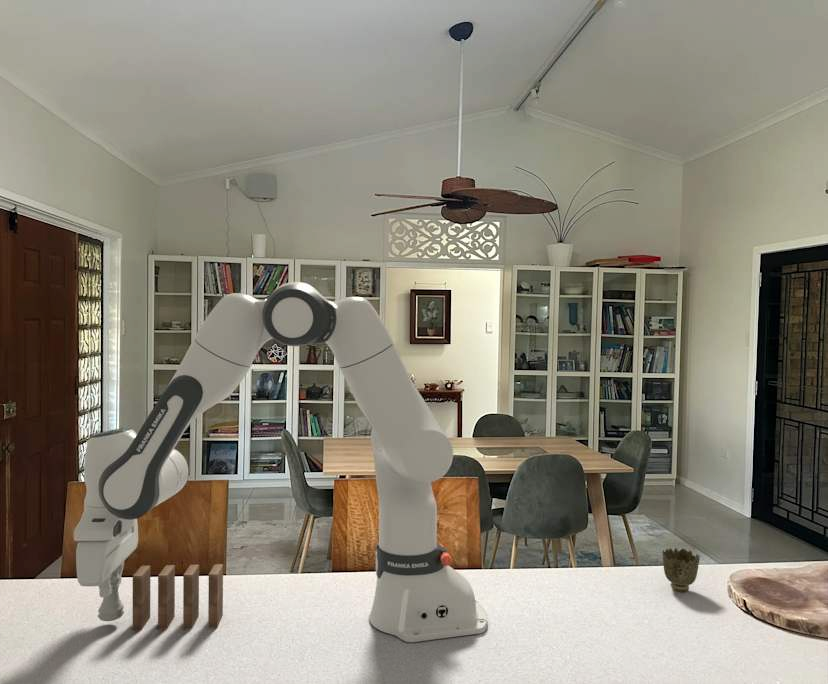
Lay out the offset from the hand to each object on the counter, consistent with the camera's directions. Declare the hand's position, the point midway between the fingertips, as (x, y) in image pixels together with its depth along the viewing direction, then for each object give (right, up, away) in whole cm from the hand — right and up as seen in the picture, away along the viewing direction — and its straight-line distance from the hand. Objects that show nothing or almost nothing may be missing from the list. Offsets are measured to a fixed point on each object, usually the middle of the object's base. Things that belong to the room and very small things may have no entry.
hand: (110, 590), depth 119 cm
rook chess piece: (0, -5, 0) cm, 5 cm away
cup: (+114, -8, +20) cm, 116 cm away
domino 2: (+10, -7, +1) cm, 12 cm away
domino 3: (+14, -7, +2) cm, 16 cm away
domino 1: (+5, -7, +1) cm, 8 cm away
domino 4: (+19, -7, +2) cm, 20 cm away
